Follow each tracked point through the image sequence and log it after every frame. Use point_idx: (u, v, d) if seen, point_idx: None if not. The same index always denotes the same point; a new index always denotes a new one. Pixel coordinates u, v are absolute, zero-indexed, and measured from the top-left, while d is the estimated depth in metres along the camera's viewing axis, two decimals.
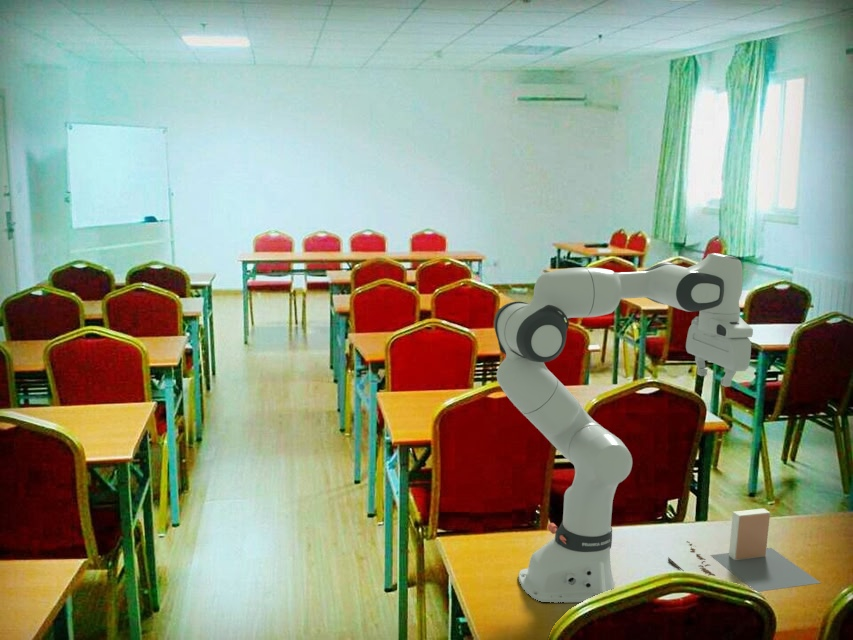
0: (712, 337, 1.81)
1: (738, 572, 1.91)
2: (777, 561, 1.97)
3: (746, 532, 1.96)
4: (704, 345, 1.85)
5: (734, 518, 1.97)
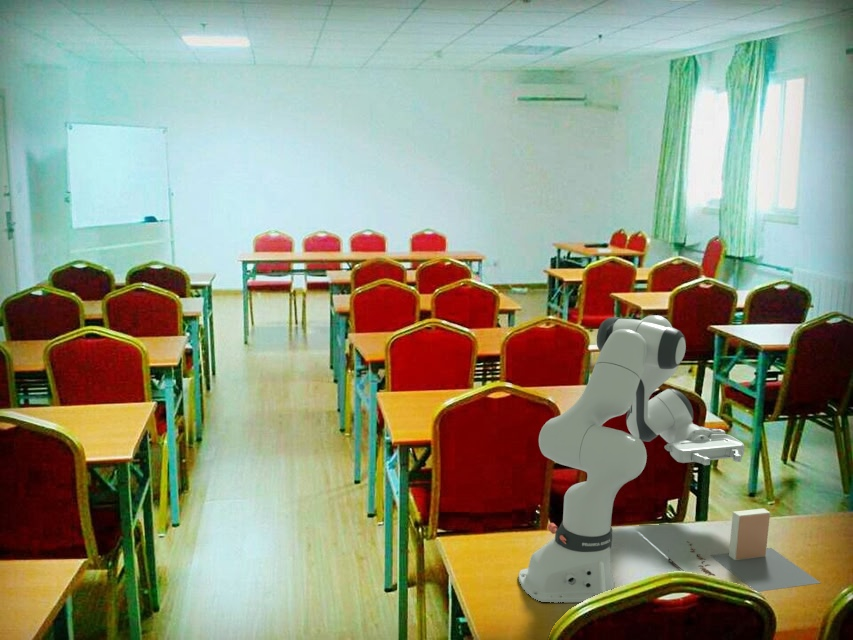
0: (707, 437, 2.18)
1: (738, 572, 1.91)
2: (777, 561, 1.97)
3: (746, 532, 1.96)
4: (700, 444, 2.15)
5: (734, 518, 1.97)
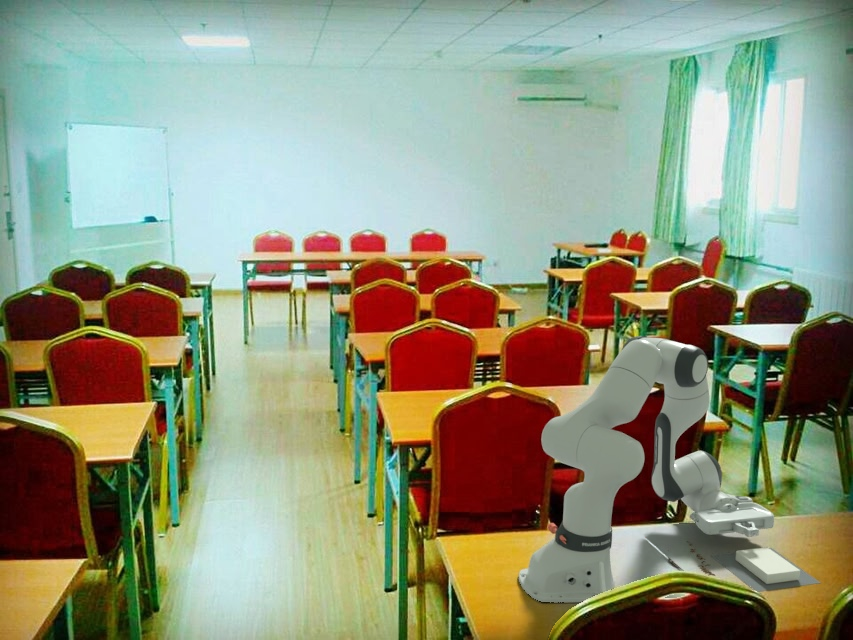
0: (734, 505, 2.07)
1: (738, 572, 1.91)
2: None
3: None
4: (728, 514, 2.03)
5: (763, 573, 1.87)
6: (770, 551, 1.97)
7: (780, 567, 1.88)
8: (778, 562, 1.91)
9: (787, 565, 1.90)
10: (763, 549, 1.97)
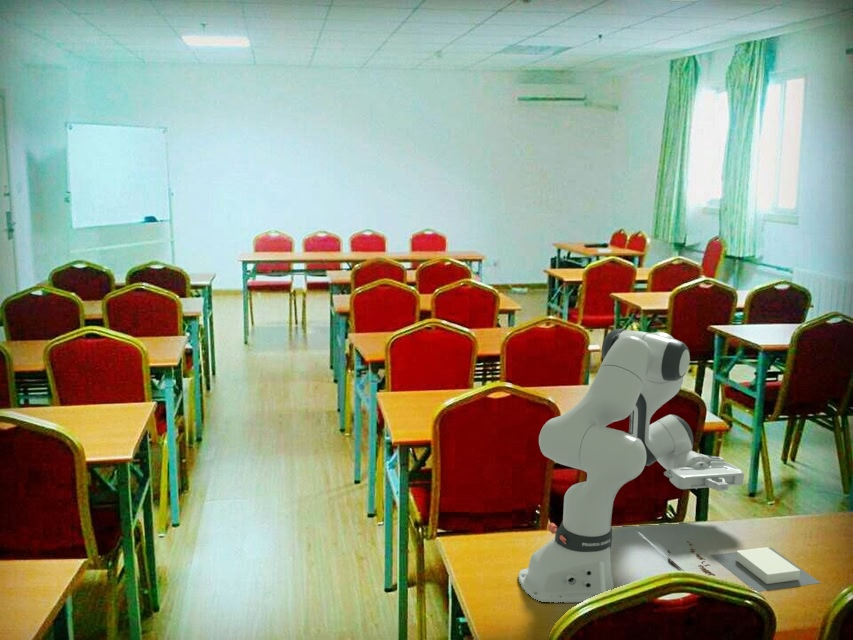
0: (707, 464, 2.18)
1: (738, 572, 1.91)
2: None
3: None
4: (700, 471, 2.14)
5: (763, 573, 1.87)
6: (770, 551, 1.97)
7: (780, 567, 1.88)
8: (778, 562, 1.91)
9: (787, 565, 1.90)
10: (763, 549, 1.97)
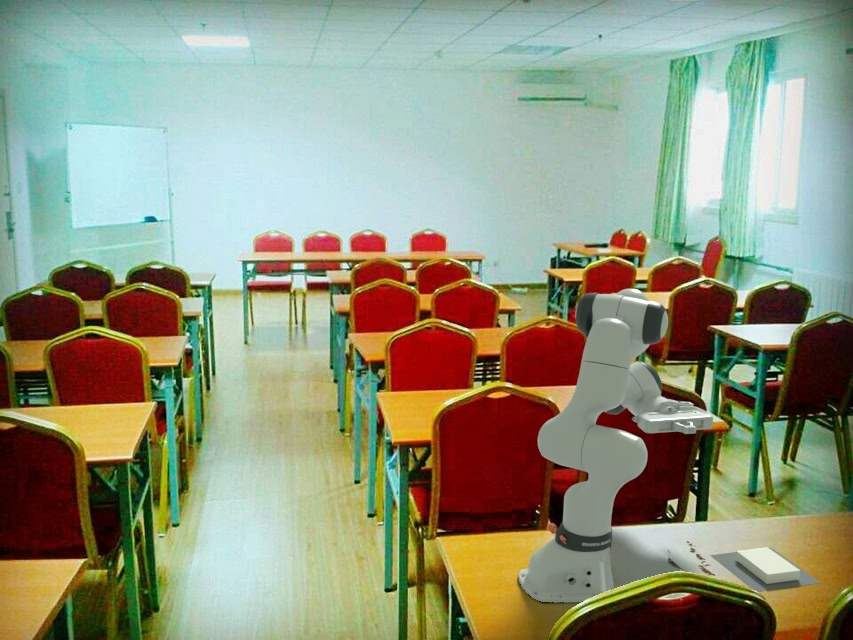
0: (675, 408, 2.15)
1: (738, 572, 1.91)
2: None
3: None
4: (668, 415, 2.11)
5: (763, 573, 1.87)
6: (770, 551, 1.97)
7: (780, 567, 1.88)
8: (778, 562, 1.91)
9: (787, 565, 1.90)
10: (763, 549, 1.97)
